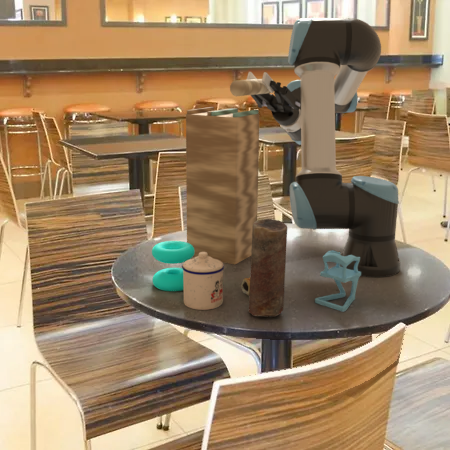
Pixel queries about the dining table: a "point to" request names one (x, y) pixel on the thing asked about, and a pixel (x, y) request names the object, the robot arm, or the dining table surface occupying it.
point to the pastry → (246, 285)
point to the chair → (340, 278)
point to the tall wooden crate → (222, 181)
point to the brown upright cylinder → (267, 268)
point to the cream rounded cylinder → (248, 87)
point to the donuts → (172, 255)
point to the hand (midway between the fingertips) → (256, 76)
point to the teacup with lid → (203, 282)
